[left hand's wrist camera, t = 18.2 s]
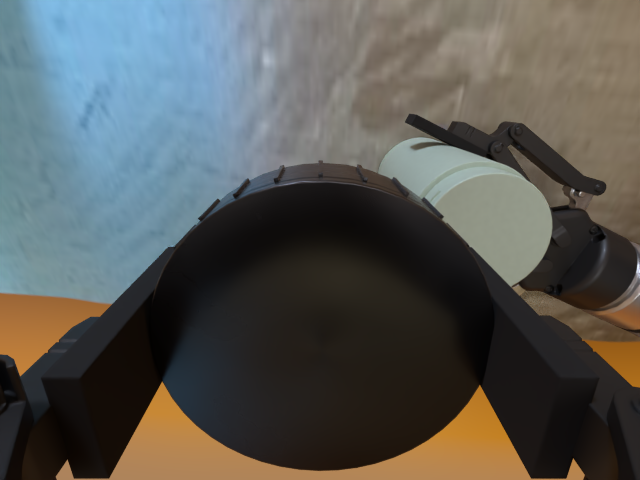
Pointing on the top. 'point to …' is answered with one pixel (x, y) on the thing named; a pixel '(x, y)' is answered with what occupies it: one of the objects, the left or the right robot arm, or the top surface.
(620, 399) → the left robot arm
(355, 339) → the lid
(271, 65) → the top surface
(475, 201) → the jar
